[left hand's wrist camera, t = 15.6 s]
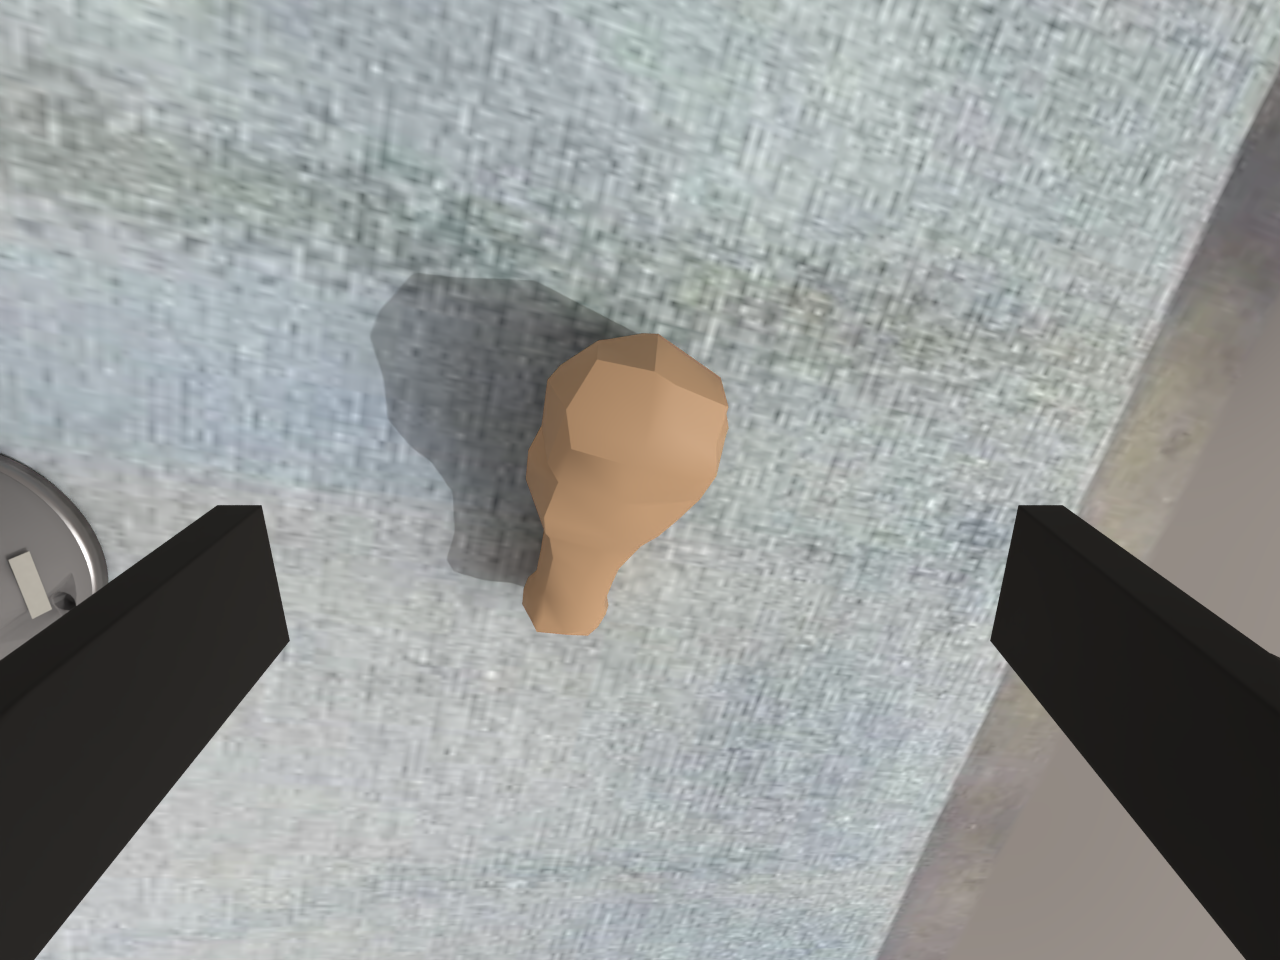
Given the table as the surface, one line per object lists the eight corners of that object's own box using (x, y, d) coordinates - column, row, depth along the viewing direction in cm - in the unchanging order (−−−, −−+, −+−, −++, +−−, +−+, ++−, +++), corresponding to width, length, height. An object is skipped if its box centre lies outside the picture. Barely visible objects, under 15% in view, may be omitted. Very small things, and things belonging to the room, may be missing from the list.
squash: (742, 336, 42) (789, 401, 34) (637, 594, 51) (656, 691, 44) (563, 285, 39) (570, 344, 31) (486, 568, 48) (478, 667, 41)
